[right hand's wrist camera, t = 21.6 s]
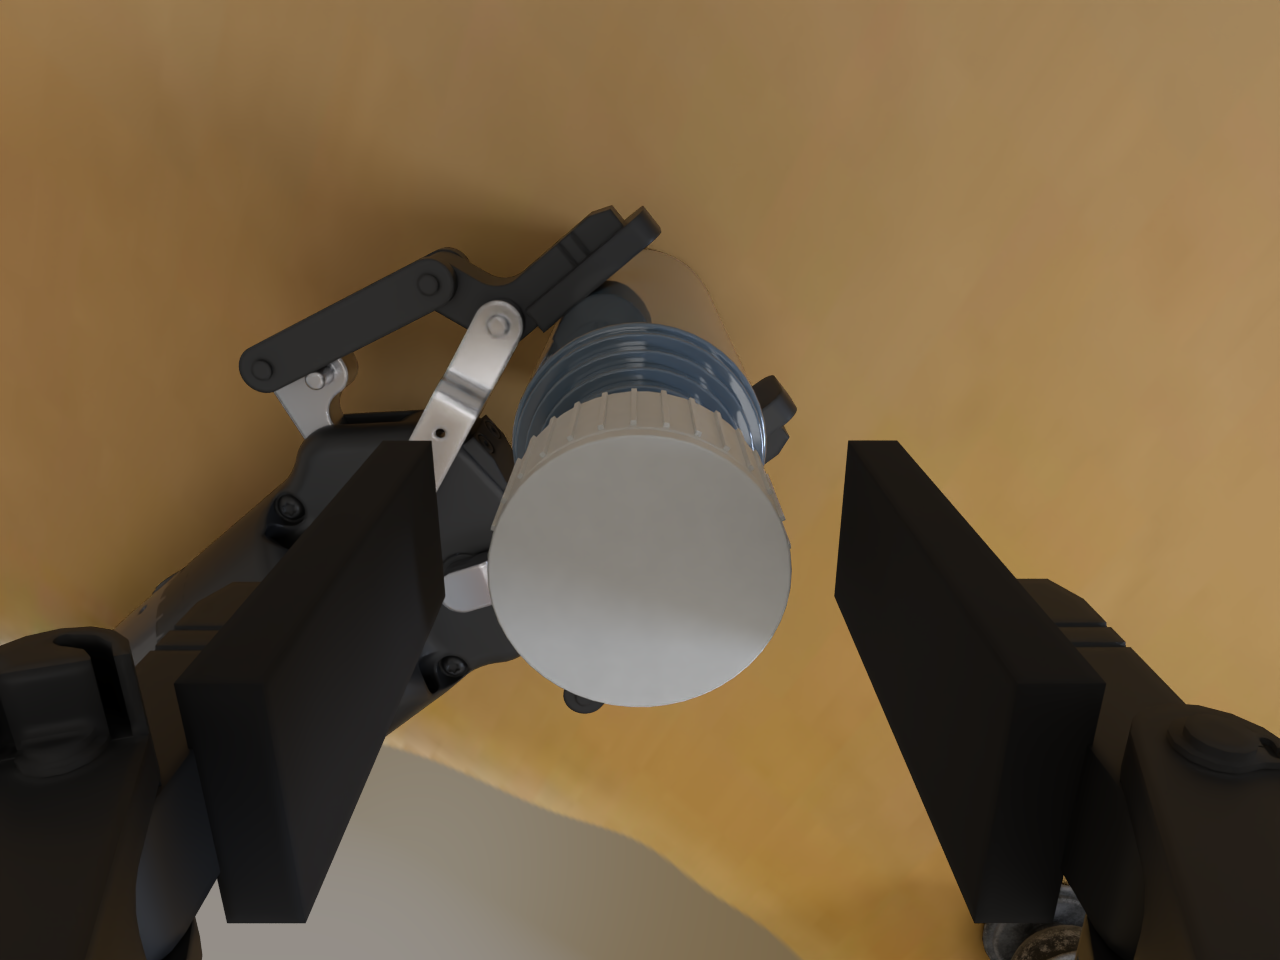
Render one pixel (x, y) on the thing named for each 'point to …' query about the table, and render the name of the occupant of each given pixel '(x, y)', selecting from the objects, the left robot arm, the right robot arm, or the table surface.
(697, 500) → the cap
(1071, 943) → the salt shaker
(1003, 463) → the table surface
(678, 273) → the bottle
